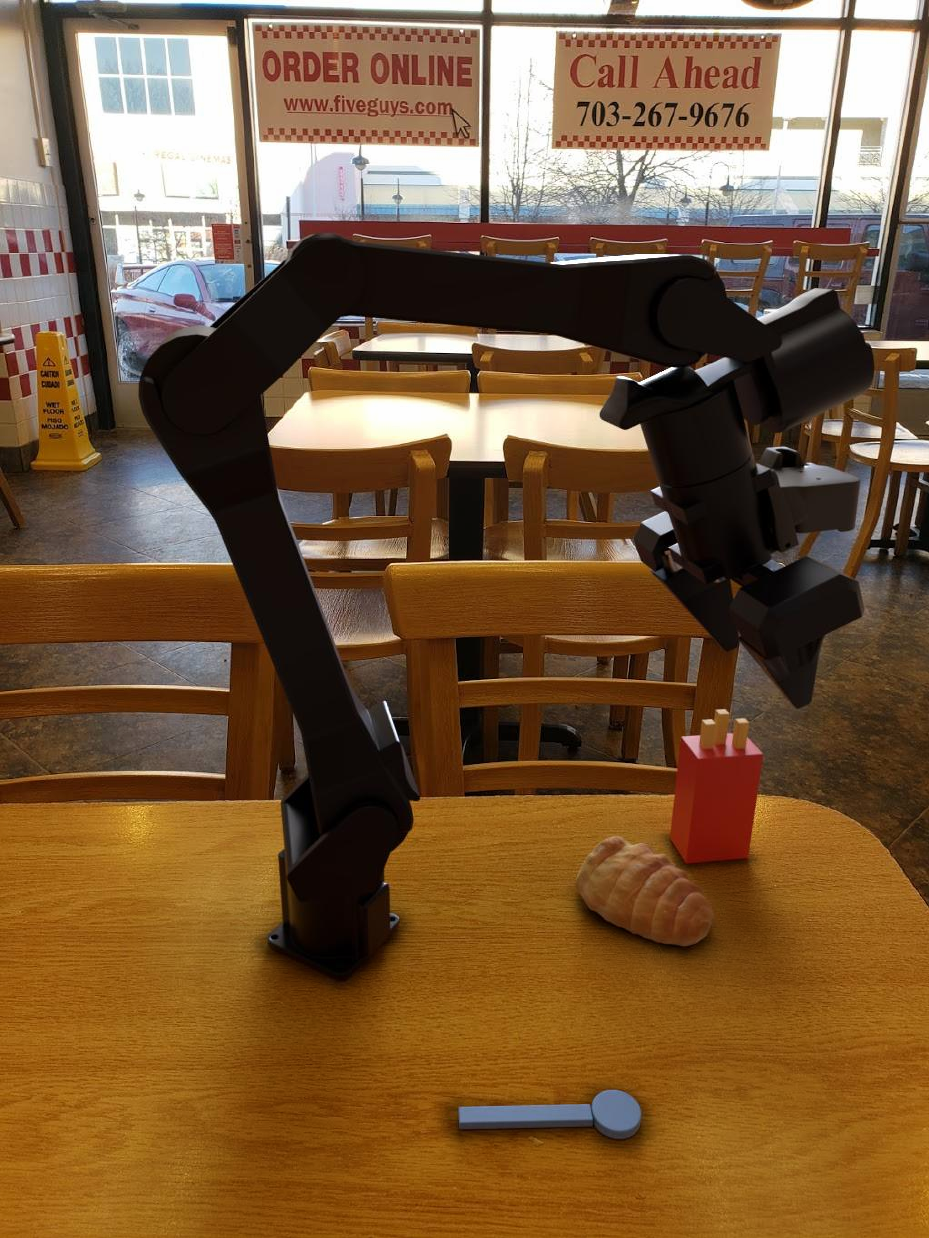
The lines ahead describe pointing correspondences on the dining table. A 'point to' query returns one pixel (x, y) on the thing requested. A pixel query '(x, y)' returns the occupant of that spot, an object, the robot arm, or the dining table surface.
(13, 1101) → the dining table surface
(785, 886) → the dining table surface
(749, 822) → the fries carton
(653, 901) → the pastry
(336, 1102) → the dining table surface
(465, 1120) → the spoon
